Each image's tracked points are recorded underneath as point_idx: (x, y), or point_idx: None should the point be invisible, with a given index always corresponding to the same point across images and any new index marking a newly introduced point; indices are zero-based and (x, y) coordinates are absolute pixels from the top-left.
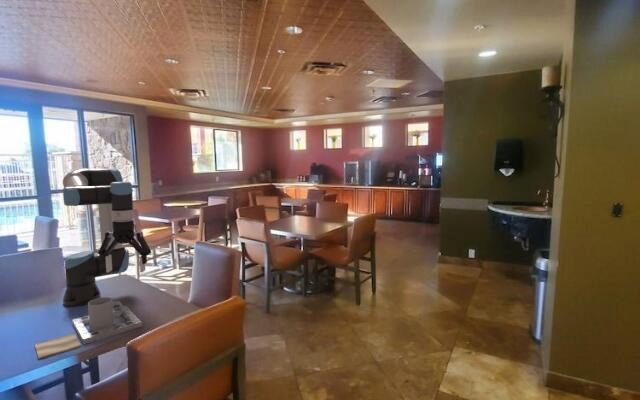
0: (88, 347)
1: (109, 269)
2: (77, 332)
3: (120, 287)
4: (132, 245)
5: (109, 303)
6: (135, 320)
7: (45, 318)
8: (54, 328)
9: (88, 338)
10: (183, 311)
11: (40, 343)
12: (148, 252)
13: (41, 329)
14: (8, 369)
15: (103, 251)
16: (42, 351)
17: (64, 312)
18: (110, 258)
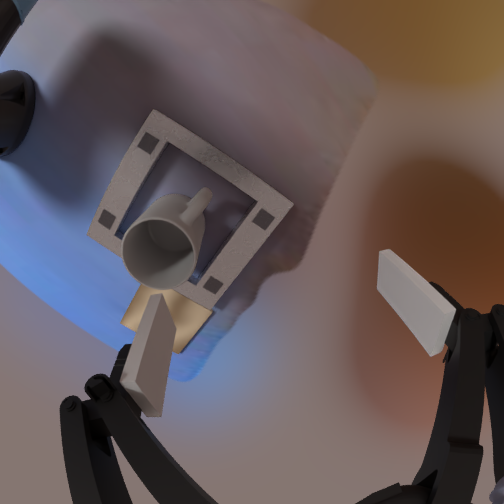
0: (232, 309)
1: (170, 327)
2: None
3: (41, 12)
4: (430, 454)
5: (197, 251)
6: (270, 199)
7: (19, 221)
8: (76, 256)
9: (215, 301)
10: (356, 95)
11: (125, 318)
12: (496, 346)
13: (59, 265)
14: None
15: (92, 427)
16: None
17: (23, 182)
18: (148, 369)
